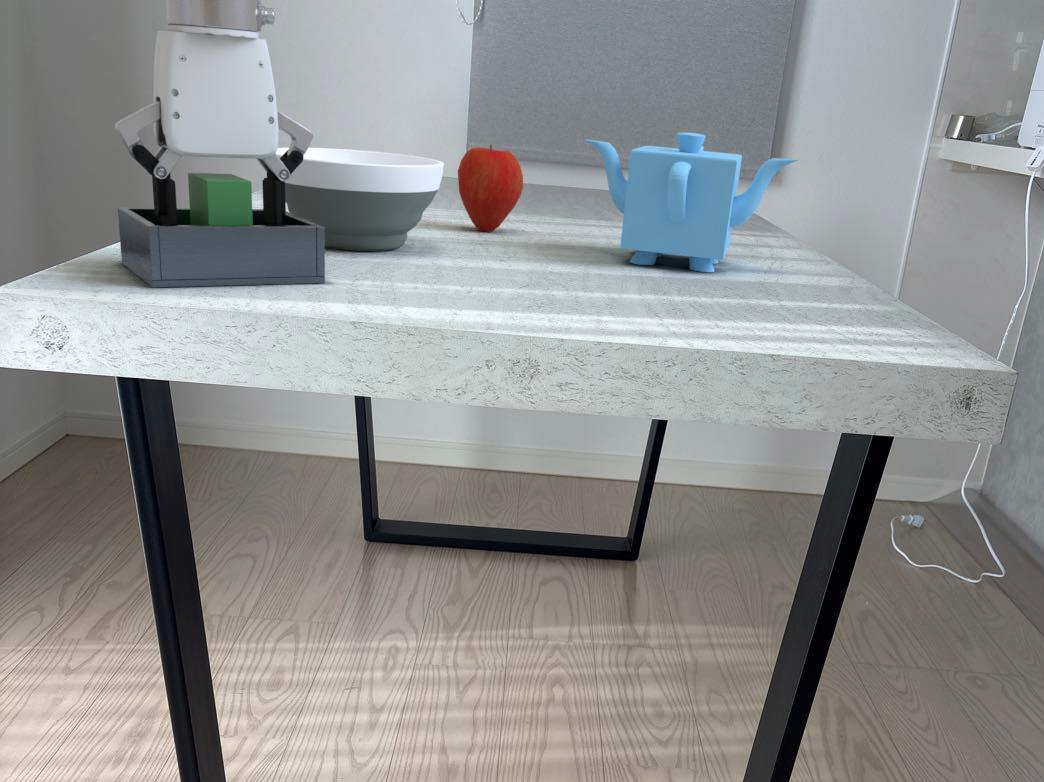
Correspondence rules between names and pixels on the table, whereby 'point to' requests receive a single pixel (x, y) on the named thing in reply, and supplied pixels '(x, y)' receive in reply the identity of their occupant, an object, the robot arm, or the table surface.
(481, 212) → the apple
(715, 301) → the table surface
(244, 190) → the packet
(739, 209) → the teakettle
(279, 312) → the table surface
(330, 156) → the bowl
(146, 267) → the grey open box
